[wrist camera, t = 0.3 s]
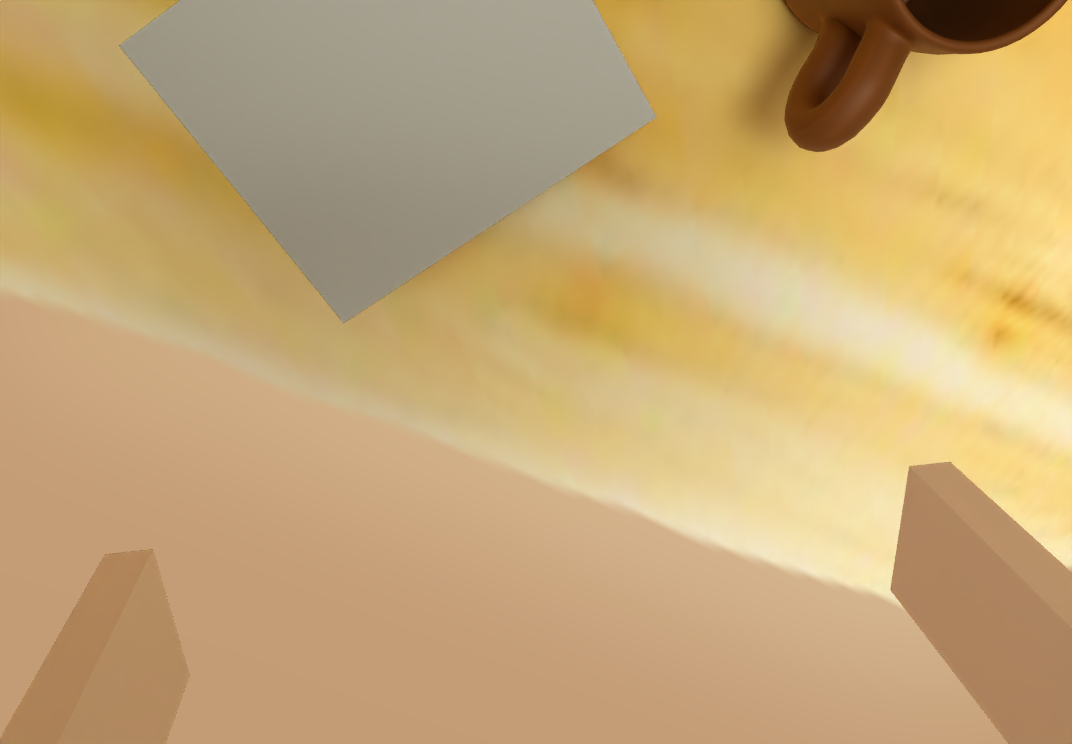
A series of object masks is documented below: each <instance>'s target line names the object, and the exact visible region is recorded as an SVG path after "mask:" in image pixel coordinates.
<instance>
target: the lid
mask: <svg viewBox="0 0 1072 744" xmlns="http://www.w3.org/2000/svg"><path fill="white" fill-rule="evenodd" d="M119 46H120V48H121V49H122V50H123V51H124V53H125V54H126V55H127V56H128V58H129V59H130V60H131V61H132V62H133V64H134V65H135V66H136V67H137V69H138V70H139V71H140V72H141V74H142V75H143V76H144V77H145V78H146V80H147V81H148V82H149V83H150V85H151V86H152V87H153V88H154V90H155V91H156V92H157V93H158V95H159V96H160V97H161V98H162V99H163V101H164V102H165V103H166V104H167V106H168V107H169V108H170V109H171V111H172V112H173V113H174V114H175V116H176V117H177V118H178V119H179V120H180V122H181V123H182V124H183V125H184V127H185V128H186V129H187V130H188V132H189V133H190V134H191V135H192V137H193V138H194V139H195V140H196V141H197V143H198V144H199V145H200V146H201V148H202V149H203V150H204V151H205V153H206V154H207V155H208V156H209V158H210V159H211V160H212V161H213V162H214V164H215V165H216V166H217V167H218V169H219V170H220V171H221V172H222V174H223V175H224V176H225V177H226V179H227V180H228V181H229V182H230V183H231V185H232V186H233V187H234V188H235V190H236V191H237V192H238V193H239V195H240V196H241V197H242V198H243V200H244V201H245V202H246V203H247V204H248V206H249V207H250V208H251V209H252V211H253V212H254V213H255V214H256V216H257V217H258V218H259V219H260V221H261V222H262V223H263V224H264V225H265V227H266V228H267V229H268V230H269V232H270V233H271V234H272V235H273V237H274V238H275V239H276V240H277V242H278V243H279V244H280V245H281V246H282V248H283V249H284V250H285V251H286V253H287V254H288V255H289V256H290V258H291V259H292V260H293V261H294V263H295V264H296V265H297V266H298V267H299V269H300V270H301V271H302V272H303V274H304V275H305V276H306V277H307V279H308V280H309V281H310V282H311V284H312V285H313V286H314V287H315V288H316V290H317V291H318V292H319V293H320V295H321V296H322V297H323V298H324V300H325V301H326V302H327V303H328V305H329V306H330V307H331V308H332V309H333V311H334V312H335V313H336V314H337V316H338V317H339V318H340V319H341V321H342V322H343V323H345V322H346V321H348V320H350V319H351V318H353V317H354V316H356V315H357V314H359V313H360V312H362V311H363V310H365V309H366V308H368V307H369V306H371V305H372V304H374V303H375V302H377V301H378V300H380V299H381V298H383V297H384V296H386V295H387V294H389V293H391V292H392V291H394V290H395V289H397V288H398V287H400V286H401V285H403V284H404V283H406V282H407V281H409V280H410V279H412V278H413V277H415V276H416V275H418V274H419V273H421V272H422V271H424V270H425V269H427V268H428V267H430V266H432V265H433V264H435V263H436V262H438V261H439V260H441V259H442V258H444V257H445V256H447V255H448V254H450V253H451V252H453V251H454V250H456V249H457V248H459V247H460V246H462V245H463V244H465V243H466V242H468V241H469V240H471V239H473V238H474V237H476V236H477V235H479V234H480V233H482V232H483V231H485V230H486V229H488V228H489V227H491V226H492V225H494V224H495V223H497V222H498V221H500V220H501V219H503V218H504V217H506V216H507V215H509V214H510V213H512V212H513V211H515V210H517V209H518V208H520V207H521V206H523V205H524V204H526V203H527V202H529V201H530V200H532V199H533V198H535V197H536V196H538V195H539V194H541V193H542V192H544V191H545V190H547V189H548V188H550V187H551V186H553V185H554V184H556V183H558V182H559V181H561V180H562V179H564V178H565V177H567V176H568V175H570V174H571V173H573V172H574V171H576V170H577V169H579V168H580V167H582V166H583V165H585V164H586V163H588V162H589V161H591V160H592V159H594V158H595V157H597V156H599V155H600V154H602V153H603V152H605V151H606V150H608V149H609V148H611V147H612V146H614V145H615V144H617V143H618V142H620V141H621V140H623V139H624V138H626V137H627V136H629V135H630V134H632V133H633V132H635V131H636V130H638V129H640V128H641V127H643V126H644V125H646V124H647V123H649V122H650V121H652V120H653V119H655V118H656V115H655V113H654V111H653V110H652V108H651V106H650V104H649V102H648V100H647V99H646V97H645V95H644V93H643V91H642V89H641V88H640V86H639V84H638V82H637V80H636V78H635V77H634V75H633V73H632V71H631V69H630V67H629V66H628V64H627V62H626V60H625V58H624V56H623V55H622V53H621V51H620V49H619V47H618V45H617V44H616V42H615V40H614V38H613V36H612V34H611V33H610V31H609V29H608V27H607V25H606V23H605V22H604V20H603V18H602V16H601V14H600V12H599V11H598V9H597V7H596V5H595V3H594V1H593V0H180V1H178V2H177V3H176V4H174V5H173V6H172V7H170V8H169V9H168V10H166V11H165V12H163V13H162V14H161V15H159V16H158V17H157V18H155V19H154V20H153V21H151V22H150V23H149V24H147V25H146V26H145V27H143V28H142V29H141V30H139V31H138V32H137V33H135V34H134V35H133V36H131V37H130V38H129V39H127V40H126V41H125V42H123V43H122V44H120V45H119Z"/></svg>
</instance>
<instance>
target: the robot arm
mask: <svg viewBox="0 0 1072 744" xmlns="http://www.w3.org/2000/svg"><path fill="white" fill-rule="evenodd" d="M890 590H891V591H892V593H893V594H894V595H895V596H896V598H897V599H898V600H899V602H900V603H901V604H902V606H903V607H904V608H905V610H906V611H907V612H908V613H909V615H910V616H911V617H912V619H913V620H914V621H915V623H917V625H918V626H919V628H920V629H921V630H922V632H923V633H924V634H925V635H926V637H927V638H928V639H929V641H930V642H931V643H932V645H933V646H934V647H935V649H936V650H937V651H938V653H939V654H940V655H941V656H942V658H943V659H944V660H945V662H946V663H947V664H948V666H949V667H950V668H951V669H952V671H953V672H954V673H955V675H956V676H957V677H958V679H959V680H960V681H961V682H962V684H963V685H964V686H965V687H966V689H967V690H968V692H969V693H970V694H971V696H972V697H973V698H974V699H975V701H976V702H977V703H978V705H979V706H980V707H981V709H982V710H983V711H984V713H985V714H986V715H987V716H988V718H989V719H990V720H991V722H992V723H993V724H994V725H995V727H996V728H997V729H998V731H999V732H1000V733H1001V735H1002V736H1003V737H1004V739H1005V740H1006V741H1007V742H1008V744H1072V572H1071V571H1069V570H1068V569H1067V568H1066V567H1065V566H1064V565H1063V564H1062V563H1061V562H1060V561H1058V560H1057V559H1056V558H1055V557H1054V556H1053V555H1052V554H1051V553H1050V552H1049V551H1047V550H1046V549H1045V548H1044V547H1043V546H1042V545H1041V544H1040V543H1039V542H1038V541H1036V540H1035V539H1034V538H1033V537H1032V536H1031V535H1030V534H1029V533H1028V532H1027V531H1025V530H1024V529H1023V528H1022V527H1021V526H1020V525H1019V524H1018V523H1017V522H1016V521H1014V520H1013V519H1012V518H1011V517H1010V516H1009V515H1008V514H1007V513H1006V512H1005V511H1003V510H1002V509H1001V508H1000V507H999V506H998V505H997V504H996V503H995V502H994V501H993V500H991V499H990V498H989V497H988V496H987V495H986V494H985V493H984V492H983V491H982V490H980V489H979V488H978V487H977V486H976V485H975V484H974V483H973V482H972V481H971V480H969V479H968V478H967V477H966V476H965V475H964V474H963V473H962V472H961V471H960V470H958V469H957V468H956V467H955V466H954V465H953V464H952V463H951V462H945V463H936V464H927V465H917V466H909V471H908V478H907V485H906V491H905V498H904V504H903V511H902V517H901V524H900V530H899V537H898V544H897V550H896V557H895V563H894V570H893V576H892V583H891V589H890ZM189 676H190V674H189V671H188V668H187V664H186V661H185V657H184V654H183V651H182V647H181V644H180V640H179V637H178V633H177V630H176V627H175V623H174V620H173V616H172V613H171V610H170V607H169V603H168V599H167V596H166V593H165V590H164V586H163V582H162V579H161V576H160V572H159V569H158V566H157V562H156V559H155V555H154V552H153V549H150V550H140V551H131V552H122V553H113V554H105V555H104V557H103V559H102V561H101V562H100V564H99V566H98V567H97V569H96V571H95V573H94V575H93V576H92V578H91V580H90V582H89V583H88V585H87V587H86V588H85V590H84V592H83V594H82V596H81V597H80V599H79V601H78V602H77V604H76V606H75V608H74V609H73V611H72V613H71V615H70V617H69V618H68V620H67V622H66V624H65V625H64V627H63V629H62V631H61V632H60V634H59V636H58V638H57V639H56V641H55V643H54V645H53V646H52V648H51V650H50V652H49V654H48V655H47V657H46V659H45V660H44V662H43V664H42V666H41V667H40V669H39V671H38V673H37V675H36V676H35V678H34V680H33V681H32V683H31V685H30V687H29V688H28V690H27V692H26V694H25V696H24V697H23V699H22V701H21V702H20V704H19V706H18V708H17V710H16V711H15V713H14V715H13V717H12V718H11V720H10V722H9V724H8V725H7V727H6V729H5V731H4V732H3V734H2V736H1V738H0V744H166V742H167V739H168V736H169V734H170V731H171V728H172V725H173V722H174V719H175V716H176V713H177V710H178V708H179V705H180V702H181V699H182V696H183V693H184V690H185V687H186V684H187V682H188V679H189Z"/></svg>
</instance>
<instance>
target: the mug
mask: <svg viewBox="0 0 1072 744" xmlns="http://www.w3.org/2000/svg"><path fill="white" fill-rule="evenodd" d="M785 1H786V3H787V5H788V6H789V8H790V9H791V11H792V12H793V13H794V14H795V15H796V17H797V18H798V19H799V20H801V21H802V22H803V23H804V24H805V25H806V26H807V27H809V28H810V29H812V30H813V31H815V32H817V33H819V37H818V39H817V42H816V44H815V47H814V49H813V51H812V52H811V54H810V56H809V57H808V59H807V60H806V62H805V64H804V65H803V67H802V68H801V70H800V72H799V74H798V75H797V77H796V79H795V81H794V83H793V85H792V88H791V90H790V93H789V96H788V100H787V104H786V109H785V124H786V127H787V131H788V134H789V136H790V138H791V139H792V140H793V141H794V142H795V143H796V144H797V145H798V146H799V147H800V148H803V149H805V150H809V151H815V152H822V151H827V150H831V149H834V148H837V147H839V146H840V145H842V144H844V143H845V142H847V141H849V140H850V139H852V138H853V137H855V136H856V135H857V134H858V133H859V132H860V131H861V130H862V129H863V128H864V127H865V126H866V125H867V124H868V123H869V122H870V120H871V119H872V118H873V117H874V116H875V114H876V113H877V112H878V111H879V109H880V108H881V107H882V105H883V104H884V102H885V101H886V99H887V98H888V96H889V94H890V91H891V89H892V87H893V85H894V83H895V81H896V79H897V77H898V75H899V73H900V70H901V68H902V66H903V64H904V62H905V60H906V58H907V56H908V55H909V53H910V51H912V52H919V53H927V54H937V55H939V54H974V53H983V52H988V51H993V50H996V49H999V48H1002V47H1005V46H1008V45H1010V44H1012V43H1014V42H1016V41H1018V40H1021V39H1022V38H1024V37H1025V36H1027V35H1029V34H1030V33H1032V32H1033V31H1035V30H1036V29H1037V28H1039V27H1040V26H1041V25H1043V24H1044V23H1045V22H1046V21H1048V20H1049V19H1050V18H1051V17H1052V16H1053V15H1054V14H1055V13H1056V12H1057V11H1058V10H1059V9H1060V8H1061V7H1062V6H1063V5H1064V4H1065V3H1066V1H1067V0H785Z"/></svg>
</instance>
